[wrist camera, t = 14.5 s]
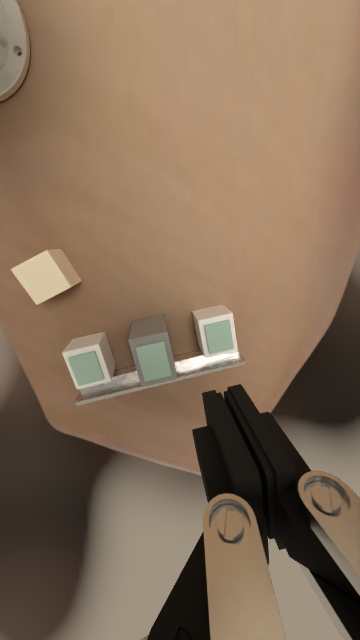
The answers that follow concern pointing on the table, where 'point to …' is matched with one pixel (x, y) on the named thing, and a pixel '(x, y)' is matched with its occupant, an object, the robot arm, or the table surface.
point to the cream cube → (46, 275)
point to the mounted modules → (98, 363)
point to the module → (152, 350)
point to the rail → (185, 369)
